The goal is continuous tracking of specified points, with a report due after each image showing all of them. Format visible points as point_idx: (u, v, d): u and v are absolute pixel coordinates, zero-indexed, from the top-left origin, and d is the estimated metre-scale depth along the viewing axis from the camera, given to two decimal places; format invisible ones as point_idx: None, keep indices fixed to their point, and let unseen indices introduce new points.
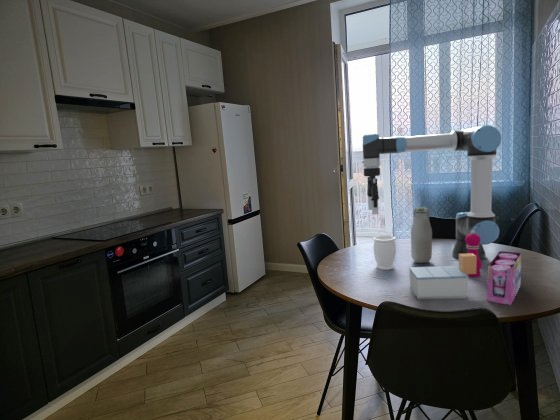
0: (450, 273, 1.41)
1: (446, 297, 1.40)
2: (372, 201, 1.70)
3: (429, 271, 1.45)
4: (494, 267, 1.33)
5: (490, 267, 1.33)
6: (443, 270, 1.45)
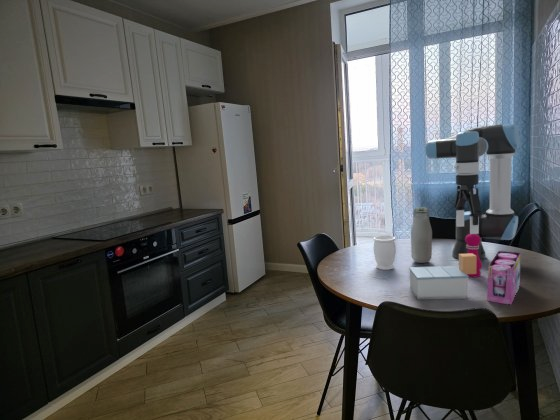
0: (450, 273, 1.41)
1: (446, 297, 1.40)
2: (471, 217, 1.33)
3: (429, 271, 1.45)
4: (494, 267, 1.34)
5: (490, 267, 1.33)
6: (443, 270, 1.45)
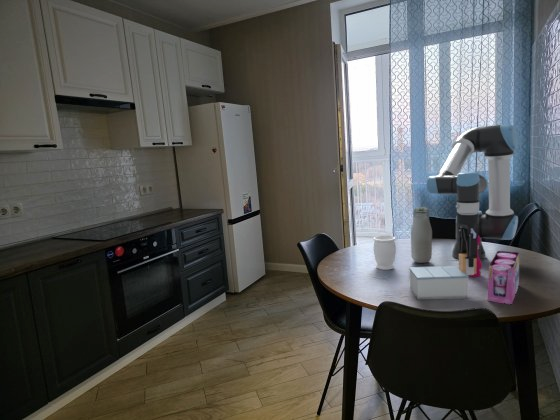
0: (450, 273, 1.41)
1: (446, 297, 1.40)
2: (467, 259, 1.40)
3: (429, 271, 1.45)
4: (495, 267, 1.34)
5: (491, 267, 1.33)
6: (443, 270, 1.45)
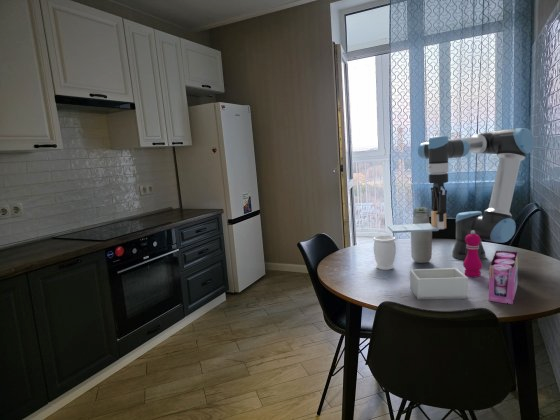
0: (423, 227, 1.58)
1: (446, 297, 1.40)
2: (437, 215, 1.56)
3: (404, 227, 1.61)
4: (495, 267, 1.34)
5: (492, 267, 1.33)
6: (417, 226, 1.61)
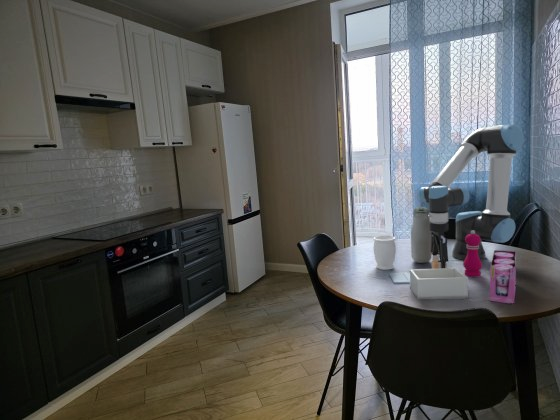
0: None
1: (446, 297, 1.40)
2: (439, 262, 1.57)
3: (405, 276, 1.65)
4: (496, 267, 1.34)
5: (493, 267, 1.33)
6: None
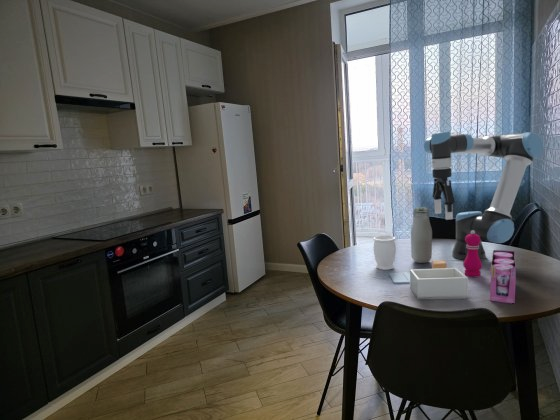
0: None
1: (446, 297, 1.40)
2: (446, 205, 1.56)
3: (405, 276, 1.65)
4: (497, 266, 1.34)
5: (493, 267, 1.33)
6: None
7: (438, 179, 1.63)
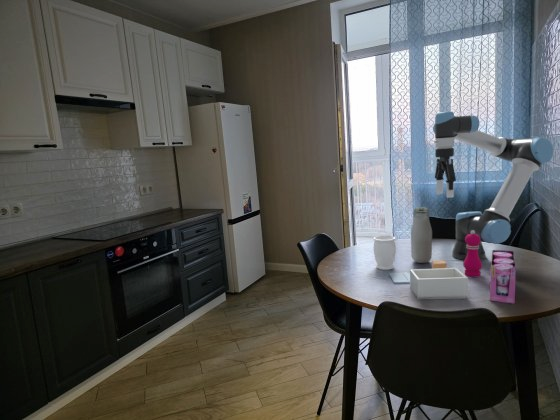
0: None
1: (446, 297, 1.40)
2: (447, 183, 1.59)
3: (405, 276, 1.65)
4: (497, 266, 1.34)
5: (493, 267, 1.33)
6: None
7: (441, 159, 1.66)
